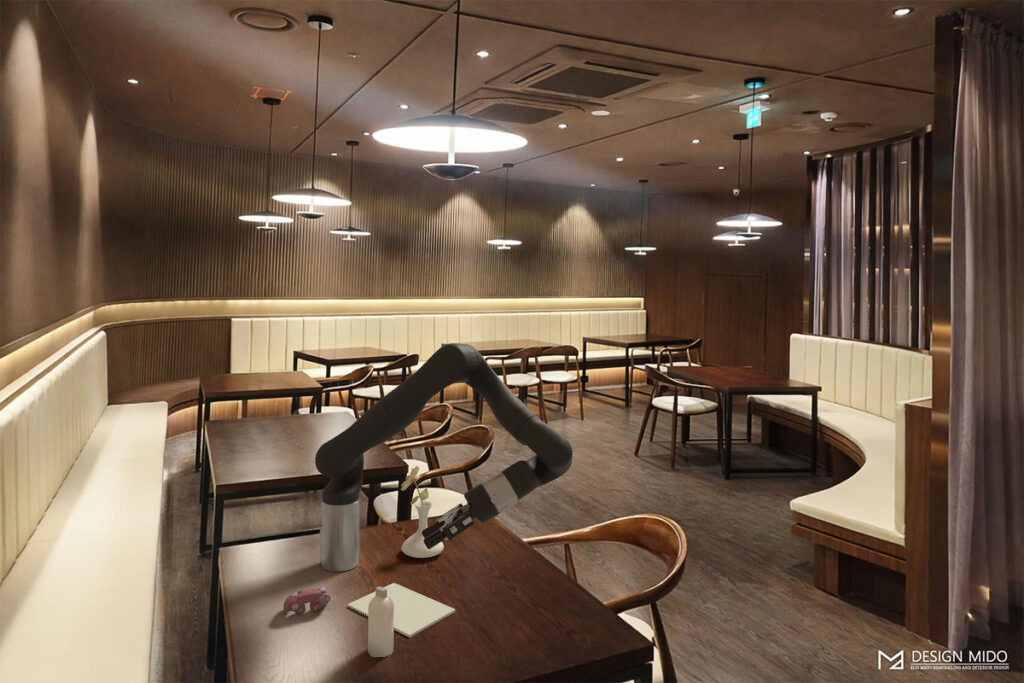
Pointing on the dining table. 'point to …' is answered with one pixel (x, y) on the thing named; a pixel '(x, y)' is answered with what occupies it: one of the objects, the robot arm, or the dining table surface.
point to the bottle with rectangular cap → (380, 624)
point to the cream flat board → (408, 609)
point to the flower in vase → (416, 542)
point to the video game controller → (307, 600)
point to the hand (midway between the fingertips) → (424, 540)
